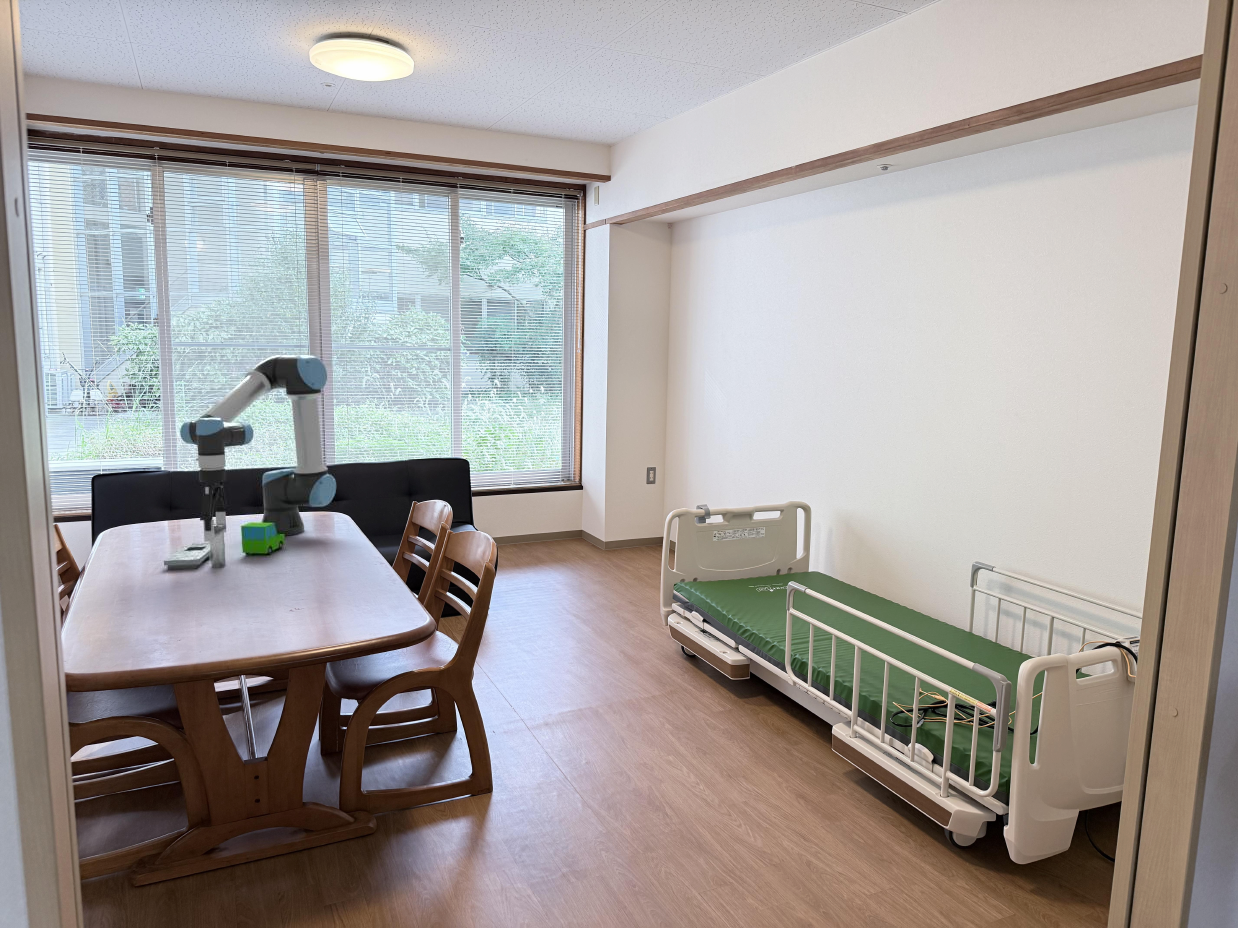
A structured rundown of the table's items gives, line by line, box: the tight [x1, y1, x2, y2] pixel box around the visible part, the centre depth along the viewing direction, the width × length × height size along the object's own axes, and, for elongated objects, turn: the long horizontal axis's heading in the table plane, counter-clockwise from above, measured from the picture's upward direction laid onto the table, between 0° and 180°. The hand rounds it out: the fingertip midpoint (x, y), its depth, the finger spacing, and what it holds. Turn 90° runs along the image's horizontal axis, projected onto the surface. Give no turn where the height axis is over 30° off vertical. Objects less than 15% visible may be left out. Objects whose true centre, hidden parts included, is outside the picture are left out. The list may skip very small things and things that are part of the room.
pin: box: [209, 523, 227, 569], centre depth 265 cm, size 6×6×13 cm
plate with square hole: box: [163, 541, 226, 571], centre depth 277 cm, size 10×30×3 cm, turn 11°
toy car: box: [240, 522, 286, 556], centre depth 285 cm, size 10×13×10 cm
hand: (215, 536), depth 265 cm, fingers open, 13 cm apart
